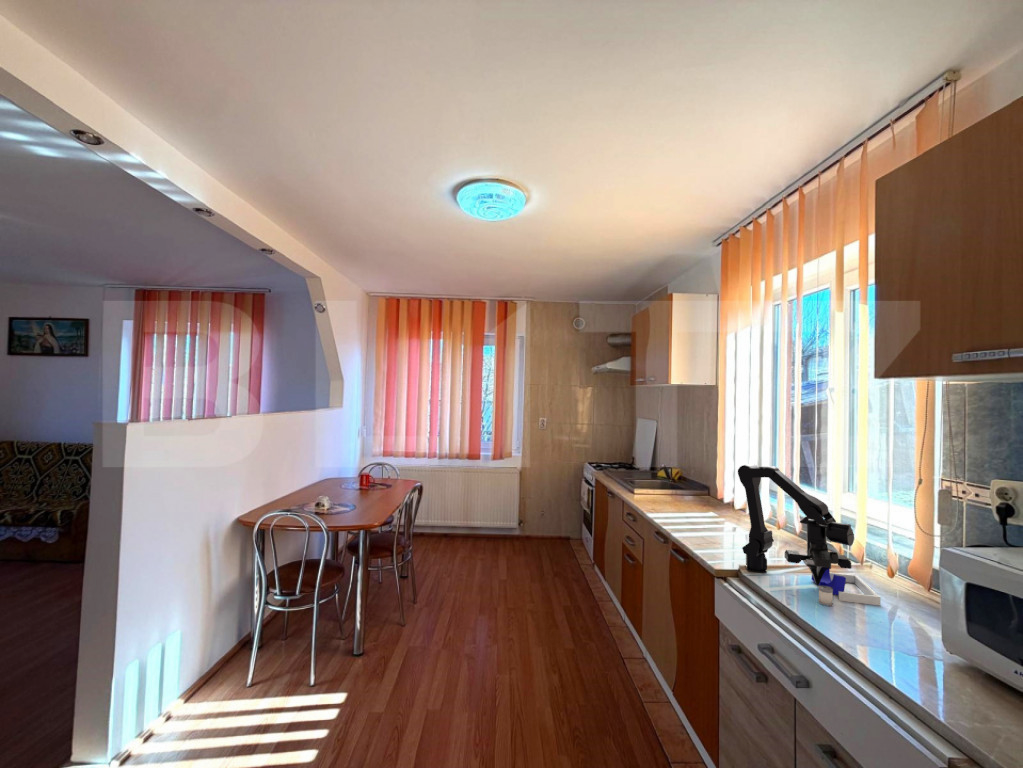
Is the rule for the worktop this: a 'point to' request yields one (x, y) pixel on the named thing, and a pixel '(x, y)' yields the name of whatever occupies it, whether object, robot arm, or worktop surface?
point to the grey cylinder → (825, 595)
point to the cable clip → (833, 582)
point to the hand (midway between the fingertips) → (817, 584)
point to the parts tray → (858, 598)
